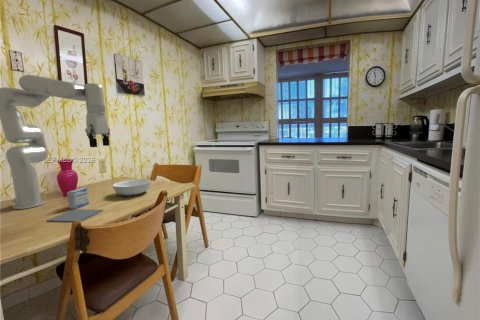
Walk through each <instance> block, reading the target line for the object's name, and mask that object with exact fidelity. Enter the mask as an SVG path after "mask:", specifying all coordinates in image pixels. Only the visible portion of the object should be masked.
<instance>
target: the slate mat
mask: <svg viewBox="0 0 480 320" xmlns="http://www.w3.org/2000/svg"><path fill="white" fill-rule="evenodd" d="M102 212H104V209H80V208H77V209H71V210H68V211H65V212H64V213H61V214H59V215H56V216H53V217H51V218H49V219H46V220H45V221H46V222H51V223H53V222H54V223H55V222H56V223H74V222H73V221H75V220H79V221H81V222H80V223H82V222H84V221H86V220H88V219H90V218H92V217H94V216H95V215H98V214H100V213H102Z"/></svg>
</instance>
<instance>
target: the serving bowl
mask: <svg viewBox="0 0 480 320" xmlns="http://www.w3.org/2000/svg"><path fill="white" fill-rule="evenodd" d="M151 183H152V181H151V180H150V179H140V178H139V179H130V180H124V181H119V182H115V183H114V184H112V188H113V191H114V192H115V193H116V194H117V195H120V196H127V197H128V196H129V197H132V196H137V195H140V194H142V193H145V192H147V191H148V190H149V188H150V187H151Z"/></svg>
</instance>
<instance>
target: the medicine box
mask: <svg viewBox="0 0 480 320" xmlns="http://www.w3.org/2000/svg"><path fill="white" fill-rule="evenodd" d="M66 196H67V202H68V209H71V210H73V209H80V208H82V207H85V206H87V205H90V203H89V202H90V200H89V193H88V188H86V187H81V188H78V189H74V190H70V191H67V192H66Z"/></svg>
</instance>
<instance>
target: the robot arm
mask: <svg viewBox="0 0 480 320" xmlns="http://www.w3.org/2000/svg"><path fill="white" fill-rule="evenodd" d="M18 85H19V86H20V88H17V87H0V122H1V127H2V130H3V134H4V137H5V140H6V141H7V142H8V143H11V144H23V145H15V146H12V147H9V148H8V149H7V150H6V152H5V158H6V161H7V163H8V165H9V167H10V171H11V178H12V183H13V190H14V196H15V197H14V199H12V200H11V203H15V204H14V205H13V206H12V209H14V210H24V209H25V210H26V209H32V208H36V207H39V206H42V205H44V204H46V203H45V200H43V199H41V194H40V193H41V192H40V186H39V179H38V178H39V177H38V173H37V170H36V168H35V167H34V166H33V164H34V163H40V162H44V161H46V160H47V158H48V157H49V151H48V147H47V143H46V137H45V134H44V132H43V130H42V129H41V128H40V127H39V126H37V125H35V124H26V123H25V120H24V119H25V118H24V116H23V114H22V113H21V112H20V111H19V109H18V108H17V107H26V108H36V107H38V106H40V105H41V104H42V103H44V102H45V101H46V100H47V99H49V98H50V97H52V98H55V97H56V98H61V99H67V100H73V101H80V102H85V105H86V112H87V113H86V116H85V117H86V118H85V124H86V126H85V127H86V128H85V129H84V132H85V133H86V136H87V138H88V141H89V147H90V148H98V139H97V138H96V137H97V135H101V137H102V138H101V141H102V146H104V147H109V146H111V145H110V135H111V134H110V131H111V129H110V128H109V125H108V119H107V115H106V103H105V95H104V88H103V85H102V84H100V83H95V82H94V83H93V82H90V83H86V84H84V85H83V84H79V83H75V82H70V81H65V80H64V81H63V80H59V79H55V78H52V77H45V76H39V75H34V74H26V75H25V74H24V75H22V76H21V77H19V79H18ZM24 144H26V145H24Z"/></svg>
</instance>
